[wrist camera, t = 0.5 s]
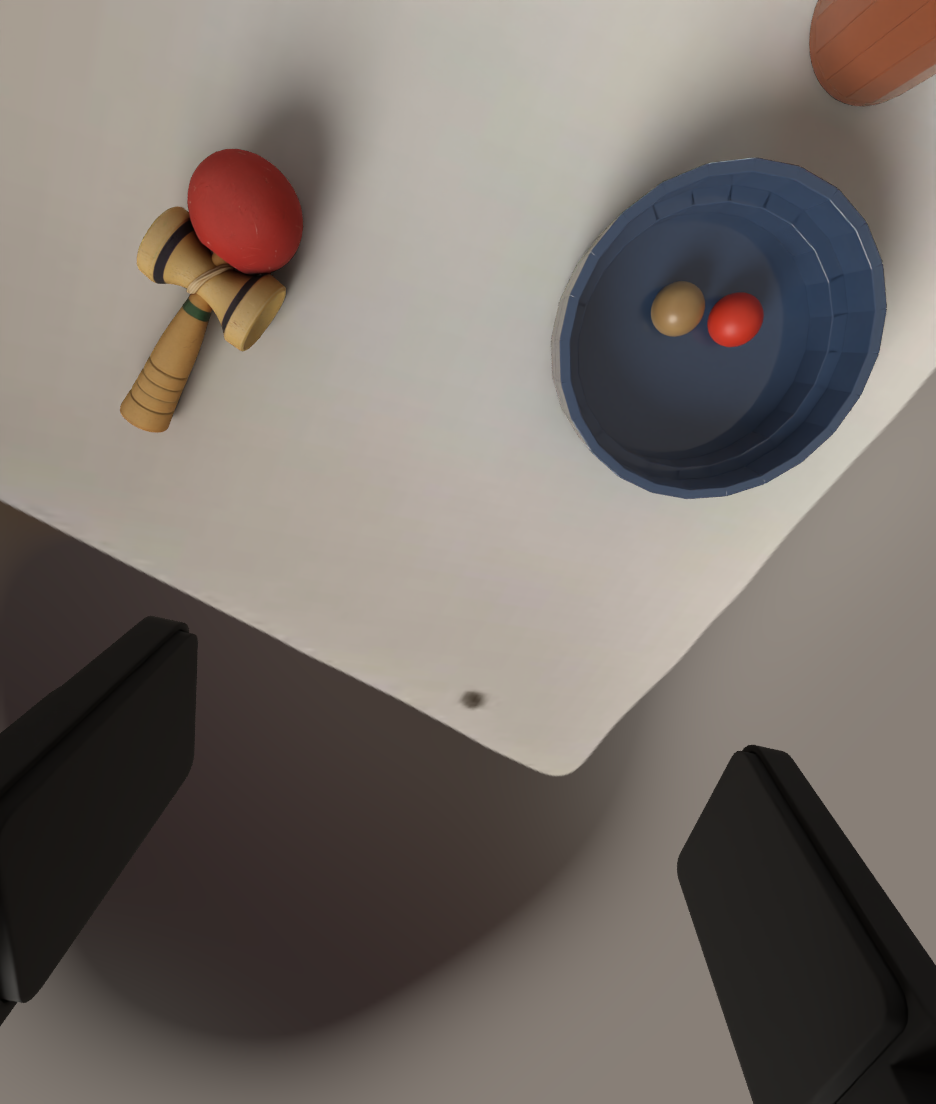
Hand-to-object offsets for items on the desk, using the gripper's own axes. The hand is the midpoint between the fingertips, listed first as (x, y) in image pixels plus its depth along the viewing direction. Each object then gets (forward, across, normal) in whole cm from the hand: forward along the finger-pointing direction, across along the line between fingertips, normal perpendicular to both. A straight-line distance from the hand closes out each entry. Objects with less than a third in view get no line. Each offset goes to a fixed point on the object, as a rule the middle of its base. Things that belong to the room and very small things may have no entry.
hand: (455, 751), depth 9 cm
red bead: (+28, -13, -10) cm, 33 cm away
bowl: (+30, -11, -8) cm, 33 cm away
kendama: (+31, +19, -4) cm, 36 cm away
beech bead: (+28, -9, -10) cm, 32 cm away
